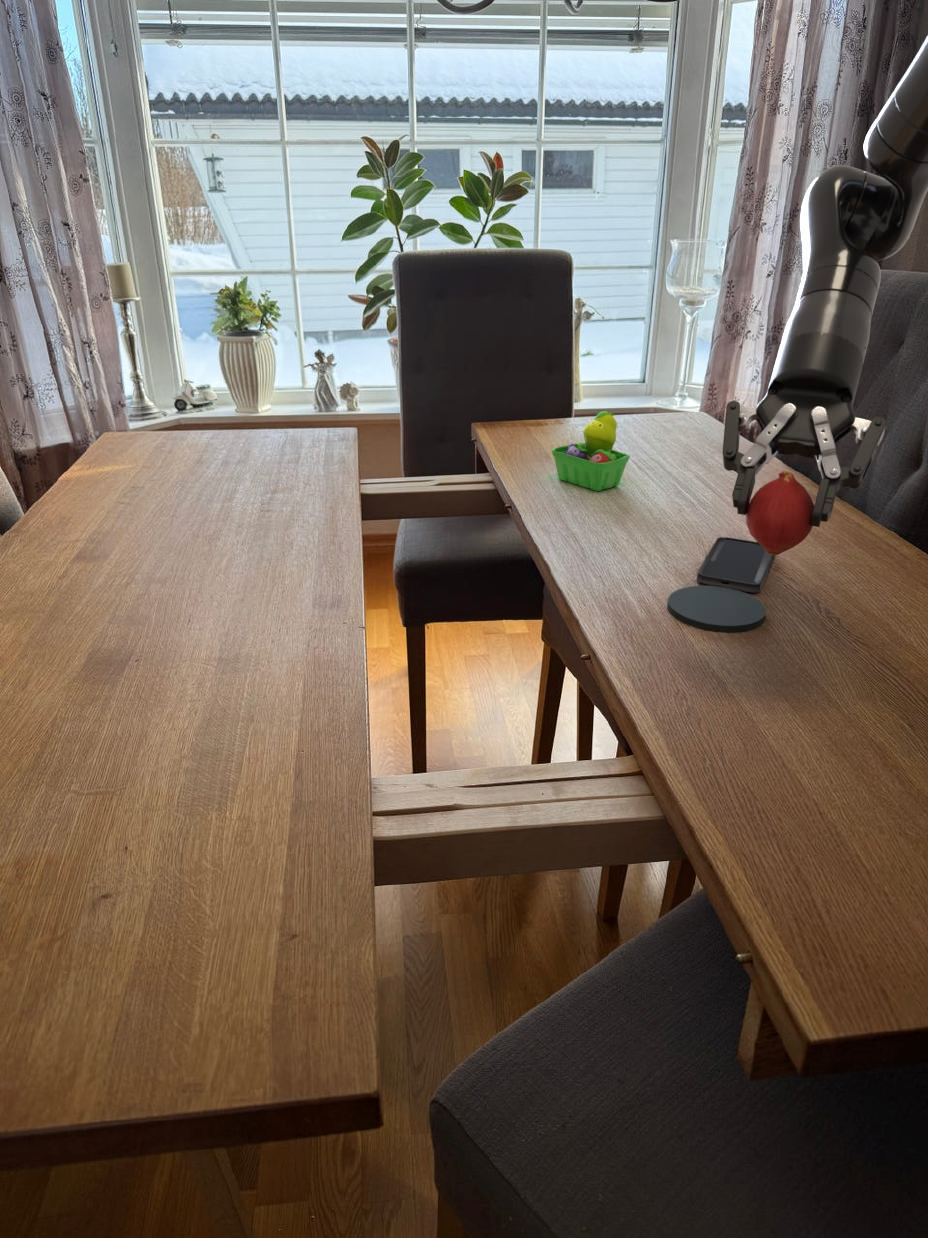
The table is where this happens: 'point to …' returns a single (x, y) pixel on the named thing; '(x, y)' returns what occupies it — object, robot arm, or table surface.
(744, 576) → the phone
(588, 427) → the fruit basket
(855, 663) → the table surface
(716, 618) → the dark grey flat disc
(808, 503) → the onion
